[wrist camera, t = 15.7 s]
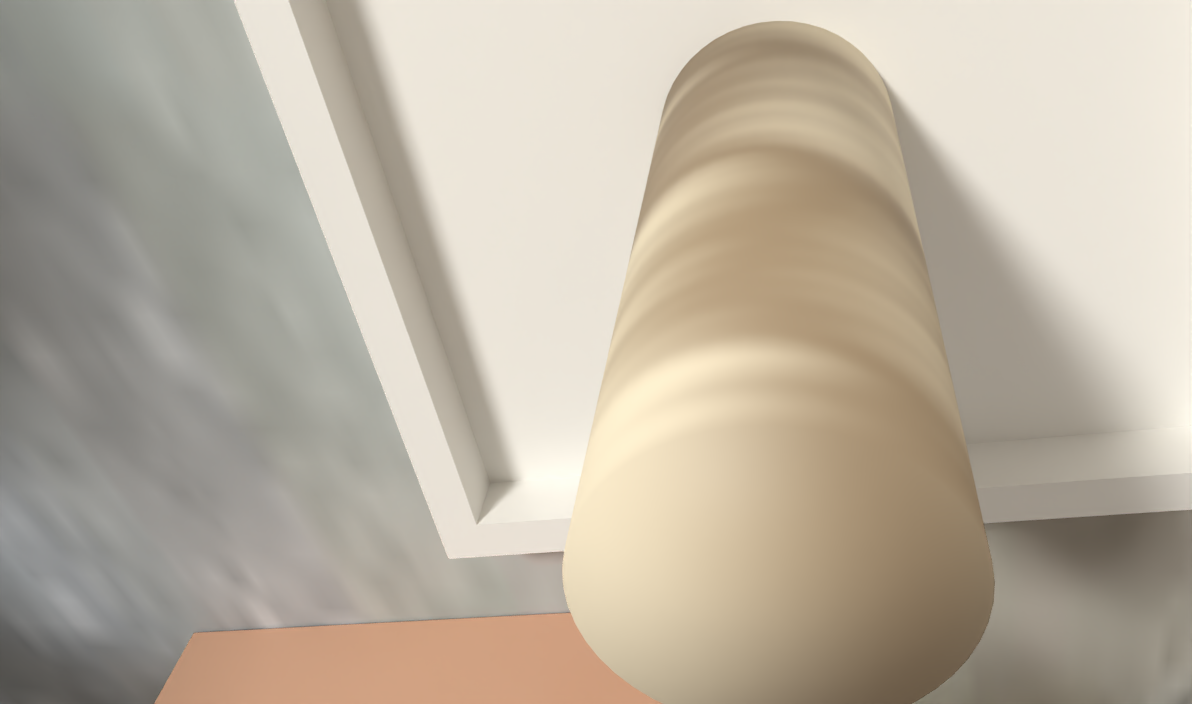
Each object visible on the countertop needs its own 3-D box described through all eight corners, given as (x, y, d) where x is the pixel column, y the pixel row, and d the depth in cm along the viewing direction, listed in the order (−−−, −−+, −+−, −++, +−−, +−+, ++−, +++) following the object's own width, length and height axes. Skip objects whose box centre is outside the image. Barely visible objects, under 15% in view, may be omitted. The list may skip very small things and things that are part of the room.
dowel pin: (681, 249, 23) (609, 736, 13) (640, 42, 21) (517, 446, 11) (901, 222, 22) (1000, 726, 12) (883, 1, 20) (988, 404, 10)
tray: (468, 500, 29) (448, 558, 27) (183, -292, 19) (125, -281, 18) (1242, 440, 25) (1276, 504, 23) (1362, -605, 15) (1438, -629, 13)
